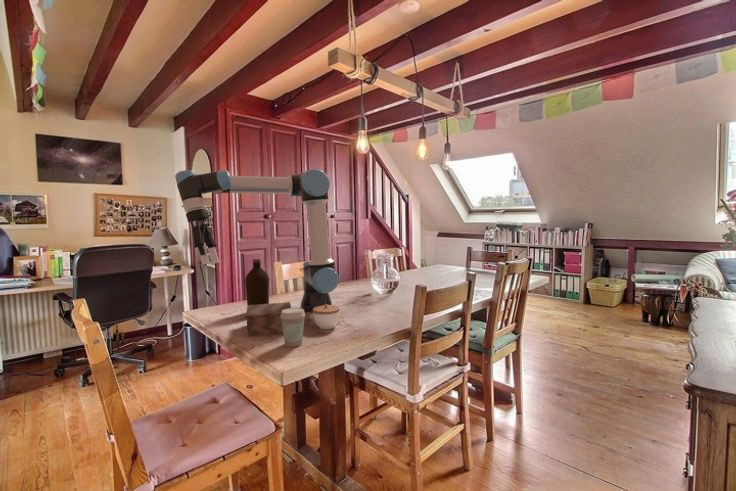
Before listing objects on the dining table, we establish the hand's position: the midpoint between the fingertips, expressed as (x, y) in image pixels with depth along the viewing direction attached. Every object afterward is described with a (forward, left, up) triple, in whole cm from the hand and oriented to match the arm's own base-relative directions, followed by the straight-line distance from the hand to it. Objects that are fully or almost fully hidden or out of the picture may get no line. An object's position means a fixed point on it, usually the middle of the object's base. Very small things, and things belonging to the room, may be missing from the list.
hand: (211, 263), depth 138 cm
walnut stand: (-21, +3, -27) cm, 34 cm away
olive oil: (-16, -23, -27) cm, 39 cm away
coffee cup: (-29, +24, -27) cm, 46 cm away
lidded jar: (-43, +8, -27) cm, 51 cm away
